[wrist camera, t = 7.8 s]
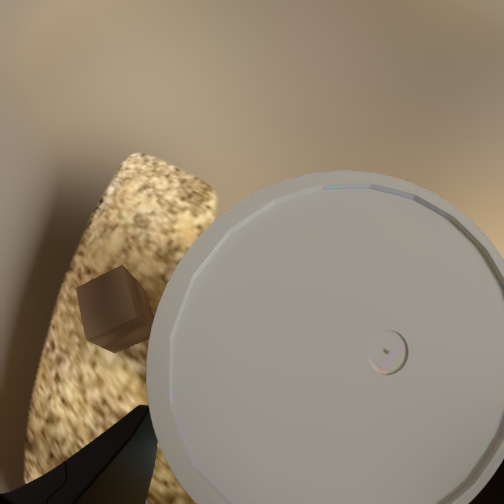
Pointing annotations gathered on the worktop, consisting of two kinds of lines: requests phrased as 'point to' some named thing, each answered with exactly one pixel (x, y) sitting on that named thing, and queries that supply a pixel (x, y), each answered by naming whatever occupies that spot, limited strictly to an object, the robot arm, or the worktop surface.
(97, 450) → the robot arm
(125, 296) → the walnut block
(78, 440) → the worktop surface
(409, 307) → the bottle
